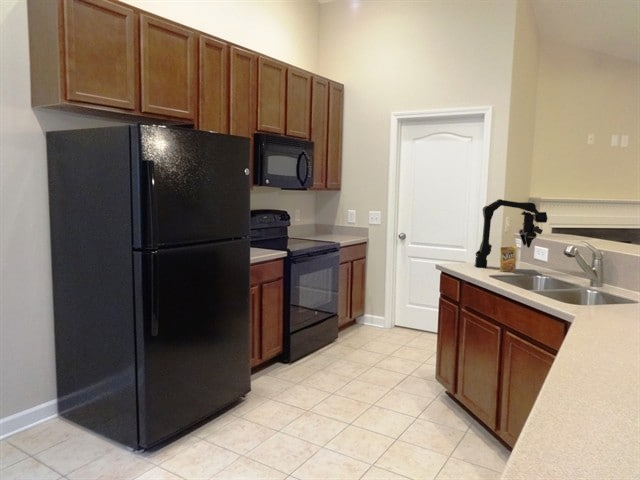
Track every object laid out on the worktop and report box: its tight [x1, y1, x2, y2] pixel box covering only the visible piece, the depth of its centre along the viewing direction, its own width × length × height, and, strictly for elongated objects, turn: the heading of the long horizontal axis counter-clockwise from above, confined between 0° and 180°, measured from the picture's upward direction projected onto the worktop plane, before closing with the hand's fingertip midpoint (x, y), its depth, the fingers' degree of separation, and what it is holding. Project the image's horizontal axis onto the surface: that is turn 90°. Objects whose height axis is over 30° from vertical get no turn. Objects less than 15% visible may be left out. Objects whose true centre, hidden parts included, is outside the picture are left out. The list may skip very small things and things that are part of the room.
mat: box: [512, 268, 543, 276], centre depth 291 cm, size 16×15×1 cm
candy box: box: [499, 245, 517, 273], centre depth 291 cm, size 9×4×15 cm, turn 70°
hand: (526, 246), depth 300 cm, fingers open, 9 cm apart
